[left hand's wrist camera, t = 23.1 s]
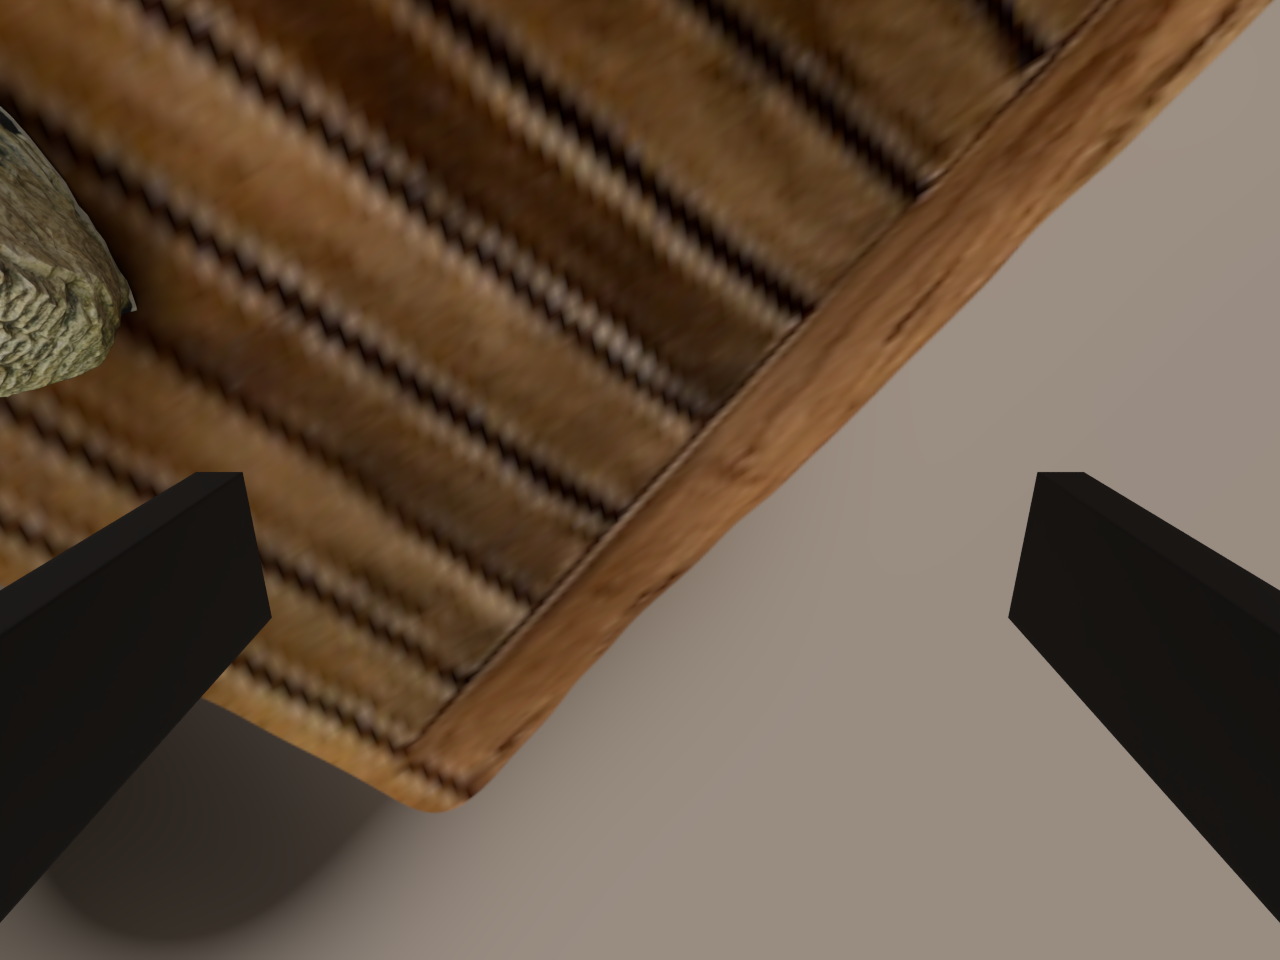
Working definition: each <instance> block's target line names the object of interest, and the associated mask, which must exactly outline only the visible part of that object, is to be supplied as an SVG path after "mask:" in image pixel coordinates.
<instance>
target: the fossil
mask: <svg viewBox="0 0 1280 960" xmlns="http://www.w3.org/2000/svg"><path fill="white" fill-rule="evenodd" d="M136 310H137V309H136V304H135V301H134V298H133V295H132V292H131V290H130V287H129V285H128V282H127V280H126V279H125V277H124V276H123V275H122V274H121V272H120V271H119V269H118V267H117V265H116V264H115V262H114V260H113V258H112V256H111V254H110V252H109V249H108V247H107V245H106V242H105V240H104V239H103V238H102V237H101V235H100V234H99V233H98V232H97V230H96V229H95V227H94V225H93V224H92V222H91V220H90V218H89V217H88V215H87V214H86V213H85V212H84V211H83V210H82V209H81V208H80V207H79V206H78V204H77V202H76V200H75V198H74V197H73V195H72V193H71V191H70V189H69V188H68V186H67V184H66V183H65V181H64V180H63V179H62V177H61V176H60V175H59V174H58V172H57V171H56V170H55V169H54V167H53V166H52V165H51V164H50V162H49V161H48V160H47V159H46V157H45V156H44V155H43V154H42V152H41V151H40V150H39V148H38V147H37V146H36V145H35V143H34V142H33V141H32V140H31V138H30V137H29V136H28V135H27V134H26V133H25V131H24V130H23V129H22V128H21V127H20V126H19V125H18V124H17V122H16V121H15V120H14V119H13V118H12V117H11V116H10V115H9V114H8V113H7V112H6V111H5V110H4V109H3V108H2V107H1V106H0V397H8V396H10V395H12V394H19V393H20V392H22V391H28V390H35V389H38V388H41V387H44V386H47V385H50V384H53V383H56V382H59V381H63V380H67V379H70V378H73V377H76V376H78V375H81V374H84V373H85V372H87V371H89V370H91V369H93V368H95V367H98V366H100V365H101V364H102V363H103V362H104V360H105V358H106V356H107V354H108V353H109V351H110V349H111V347H112V346H113V344H114V342H115V333H116V331H117V329H118V328H119V326H120V317H121V316H122V315H123V314H124V313H128V312H132V311H136Z"/></svg>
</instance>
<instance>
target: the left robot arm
mask: <svg viewBox="0 0 1280 960" xmlns="http://www.w3.org/2000/svg"><path fill="white" fill-rule="evenodd" d="M271 618H272V616H271V611H270V606H269V601H268V596H267V591H266V586H265V581H264V577H263V572H262V567H261V562H260V557H259V552H258V547H257V542H256V537H255V532H254V527H253V522H252V517H251V512H250V507H249V502H248V497H247V492H246V487H245V482H244V477H243V472H196V473H194V474H192V475H191V476H189V477H187V478H186V479H184V480H182V481H181V482H179V483H177V484H176V485H174V486H172V487H171V488H169V489H167V490H166V491H164V492H162V493H161V494H159V495H157V496H156V497H154V498H152V499H151V500H149V501H148V502H146V503H144V504H143V505H141V506H139V507H138V508H136V509H134V510H133V511H131V512H129V513H128V514H126V515H124V516H123V517H121V518H119V519H118V520H116V521H114V522H113V523H111V524H109V525H108V526H106V527H104V528H103V529H101V530H100V531H98V532H96V533H95V534H93V535H91V536H90V537H88V538H86V539H85V540H83V541H81V542H80V543H78V544H76V545H75V546H73V547H71V548H70V549H68V550H66V551H65V552H63V553H61V554H60V555H58V556H56V557H55V558H53V559H52V560H50V561H48V562H47V563H45V564H43V565H42V566H40V567H38V568H37V569H35V570H33V571H32V572H30V573H28V574H27V575H25V576H23V577H22V578H20V579H18V580H17V581H15V582H13V583H12V584H10V585H8V586H7V587H5V588H4V589H2V590H0V922H1V921H2V920H3V919H4V918H5V917H6V915H7V914H8V913H9V912H10V911H11V910H12V909H13V908H14V906H15V905H16V904H17V903H18V902H19V901H20V900H21V899H22V898H23V896H24V895H25V894H26V893H27V892H28V891H29V890H30V889H31V887H32V886H33V885H34V884H35V883H36V882H37V881H38V879H39V878H40V877H41V876H42V875H43V874H44V873H45V872H46V871H47V869H48V868H49V867H50V866H51V865H52V864H53V863H54V862H55V861H56V859H57V858H58V857H59V856H60V855H61V854H62V853H63V852H64V850H65V849H66V848H67V847H68V846H69V845H70V844H71V842H72V841H73V840H74V839H75V838H76V837H77V836H78V835H79V834H80V832H81V831H82V830H83V829H84V828H85V827H86V826H87V825H88V823H89V822H90V821H91V820H92V819H93V818H94V817H95V816H96V814H97V813H98V812H99V811H100V810H101V809H102V808H103V807H104V805H105V804H106V803H107V802H108V801H109V800H110V799H111V798H112V796H113V795H114V794H115V793H116V792H117V791H118V790H119V789H120V787H121V786H122V785H123V784H124V783H125V782H126V781H127V780H128V779H129V777H130V776H131V775H132V774H133V773H134V772H135V771H136V770H137V768H138V767H139V766H140V765H141V764H142V763H143V762H144V761H145V759H146V758H147V757H148V756H149V755H150V754H151V753H152V752H153V750H154V749H155V748H156V747H157V746H158V745H159V744H160V743H161V741H162V740H163V739H164V738H165V737H166V736H167V735H168V734H169V732H170V731H171V730H172V729H173V728H174V727H175V726H176V725H177V723H178V722H179V721H180V720H181V719H182V718H183V717H184V716H185V714H186V713H187V712H188V711H189V710H190V709H191V708H192V707H193V706H194V704H195V703H196V702H197V701H198V700H199V699H200V698H201V697H202V695H203V694H204V693H205V692H206V691H207V690H208V689H209V688H210V686H211V685H212V684H213V683H214V682H215V681H216V680H217V679H218V677H219V676H220V675H221V674H222V673H223V672H224V671H225V670H226V668H227V667H228V666H229V665H230V664H231V663H232V662H233V661H234V659H235V658H236V657H237V656H238V655H239V654H240V653H241V652H242V650H243V649H244V648H245V647H246V646H247V645H248V644H249V643H250V641H251V640H252V639H253V638H254V637H255V636H256V635H257V634H258V633H259V631H260V630H261V629H262V628H263V627H264V626H265V625H266V624H267V622H268V621H269V620H270V619H271ZM1008 618H1009V619H1010V620H1011V621H1012V622H1013V623H1014V625H1015V626H1016V627H1017V628H1018V629H1019V630H1020V631H1021V632H1022V634H1023V635H1024V636H1025V637H1026V638H1027V639H1028V640H1029V641H1030V643H1031V644H1032V645H1033V646H1034V647H1035V648H1036V649H1037V650H1038V652H1039V653H1040V654H1041V655H1042V656H1043V657H1044V658H1045V659H1046V661H1047V662H1048V663H1049V664H1050V665H1051V666H1052V667H1053V668H1054V670H1055V671H1056V672H1057V673H1058V674H1059V675H1060V676H1061V677H1062V679H1063V680H1064V681H1065V682H1066V683H1067V684H1068V685H1069V686H1070V688H1071V689H1072V690H1073V691H1074V692H1075V693H1076V694H1077V695H1078V696H1079V698H1080V699H1081V700H1082V701H1083V702H1084V703H1085V704H1086V706H1087V707H1088V708H1089V709H1090V710H1091V711H1092V712H1093V713H1094V714H1095V716H1096V717H1097V718H1098V719H1099V720H1100V721H1101V722H1102V723H1103V725H1104V726H1105V727H1106V728H1107V729H1108V730H1109V731H1110V732H1111V734H1112V735H1113V736H1114V737H1115V738H1116V739H1117V740H1118V741H1119V743H1120V744H1121V745H1122V746H1123V747H1124V748H1125V749H1126V750H1127V752H1128V753H1129V754H1130V755H1131V756H1132V757H1133V758H1134V759H1135V761H1136V762H1137V763H1138V764H1139V765H1140V766H1141V767H1142V768H1143V770H1144V771H1145V772H1146V773H1147V774H1148V775H1149V776H1150V777H1151V778H1152V780H1153V781H1154V782H1155V783H1156V784H1157V785H1158V786H1159V788H1160V789H1161V790H1162V791H1163V792H1164V793H1165V794H1166V795H1167V796H1168V798H1169V799H1170V800H1171V801H1172V802H1173V803H1174V804H1175V805H1176V807H1177V808H1178V809H1179V810H1180V811H1181V812H1182V813H1183V814H1184V816H1185V817H1186V818H1187V819H1188V820H1189V821H1190V822H1191V823H1192V825H1193V826H1194V827H1195V828H1196V829H1197V830H1198V831H1199V832H1200V834H1201V835H1202V836H1203V837H1204V838H1205V839H1206V840H1207V841H1208V843H1209V844H1210V845H1211V846H1212V847H1213V848H1214V849H1215V850H1216V852H1217V853H1218V854H1219V855H1220V856H1221V857H1222V858H1223V859H1224V861H1225V862H1226V863H1227V864H1228V865H1229V866H1230V867H1231V868H1232V869H1233V871H1234V872H1235V873H1236V874H1237V875H1238V876H1239V877H1240V878H1241V880H1242V881H1243V882H1244V883H1245V884H1246V885H1247V886H1248V887H1249V889H1250V890H1251V891H1252V892H1253V893H1254V894H1255V895H1256V896H1257V898H1258V899H1259V900H1260V901H1261V902H1262V903H1263V904H1264V905H1265V907H1266V908H1267V909H1268V910H1269V911H1270V912H1271V913H1272V914H1273V916H1274V917H1275V918H1276V919H1277V920H1278V921H1279V922H1280V590H1278V589H1276V588H1275V587H1273V586H1271V585H1270V584H1268V583H1267V582H1265V581H1263V580H1262V579H1260V578H1258V577H1257V576H1255V575H1253V574H1252V573H1250V572H1248V571H1247V570H1245V569H1243V568H1242V567H1240V566H1238V565H1237V564H1235V563H1233V562H1232V561H1230V560H1228V559H1227V558H1225V557H1223V556H1222V555H1220V554H1219V553H1217V552H1215V551H1214V550H1212V549H1210V548H1209V547H1207V546H1205V545H1204V544H1202V543H1200V542H1199V541H1197V540H1195V539H1194V538H1192V537H1190V536H1189V535H1187V534H1185V533H1184V532H1182V531H1180V530H1179V529H1177V528H1175V527H1174V526H1172V525H1171V524H1169V523H1167V522H1166V521H1164V520H1162V519H1161V518H1159V517H1157V516H1156V515H1154V514H1152V513H1151V512H1149V511H1147V510H1146V509H1144V508H1142V507H1141V506H1139V505H1137V504H1136V503H1134V502H1132V501H1131V500H1129V499H1127V498H1126V497H1124V496H1123V495H1121V494H1119V493H1117V492H1116V491H1114V490H1113V489H1111V488H1109V487H1108V486H1106V485H1104V484H1103V483H1101V482H1099V481H1098V480H1096V479H1094V478H1093V477H1091V476H1089V475H1088V474H1086V473H1084V472H1038V473H1037V477H1036V482H1035V487H1034V492H1033V497H1032V502H1031V507H1030V512H1029V517H1028V522H1027V527H1026V532H1025V537H1024V542H1023V547H1022V552H1021V557H1020V562H1019V567H1018V572H1017V577H1016V581H1015V587H1014V591H1013V596H1012V601H1011V606H1010V612H1009V616H1008Z"/></svg>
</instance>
